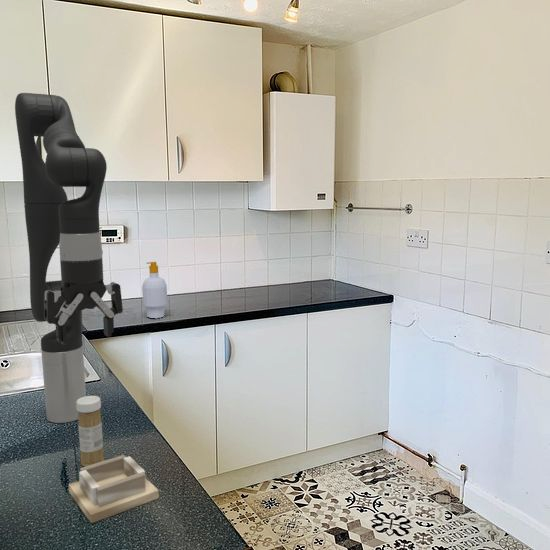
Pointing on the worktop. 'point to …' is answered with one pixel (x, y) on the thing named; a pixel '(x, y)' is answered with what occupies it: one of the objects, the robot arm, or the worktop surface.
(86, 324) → the worktop surface
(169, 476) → the worktop surface
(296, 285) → the worktop surface
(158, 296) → the soap bottle
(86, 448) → the sprinkles bottle
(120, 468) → the collar base
